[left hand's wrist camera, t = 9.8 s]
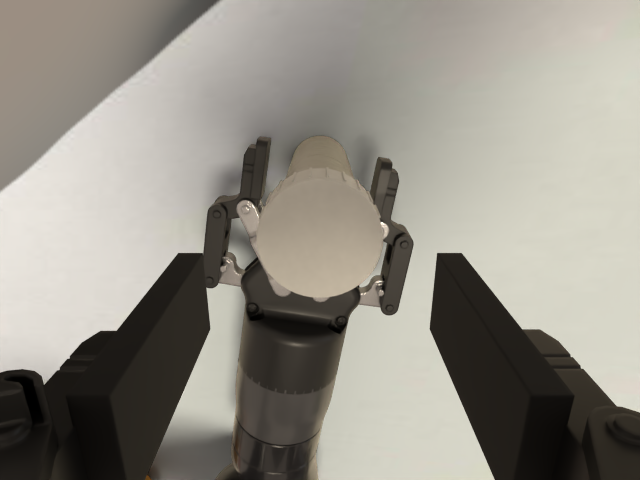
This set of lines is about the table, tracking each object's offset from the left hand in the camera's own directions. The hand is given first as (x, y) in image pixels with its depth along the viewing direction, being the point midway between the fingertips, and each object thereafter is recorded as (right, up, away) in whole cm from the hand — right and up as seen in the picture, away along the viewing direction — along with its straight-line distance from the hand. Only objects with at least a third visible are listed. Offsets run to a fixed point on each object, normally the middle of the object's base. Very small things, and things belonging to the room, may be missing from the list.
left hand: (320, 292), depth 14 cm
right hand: (0, +7, +14) cm, 16 cm away
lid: (0, +2, +5) cm, 5 cm away
